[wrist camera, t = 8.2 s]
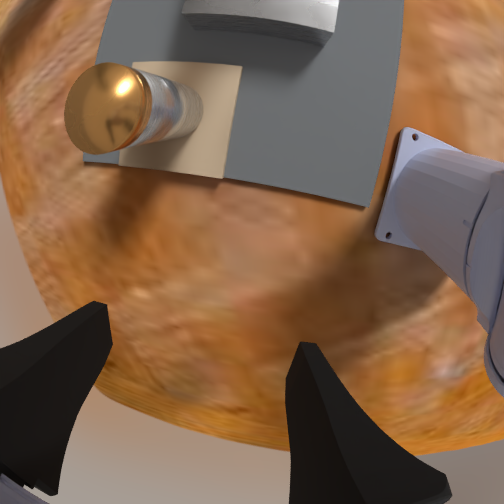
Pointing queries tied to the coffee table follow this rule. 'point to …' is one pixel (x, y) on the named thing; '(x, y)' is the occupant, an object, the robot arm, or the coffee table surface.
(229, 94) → the cork pad
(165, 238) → the coffee table surface
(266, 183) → the mat
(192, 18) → the block
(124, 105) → the gold capped metal cylinder
